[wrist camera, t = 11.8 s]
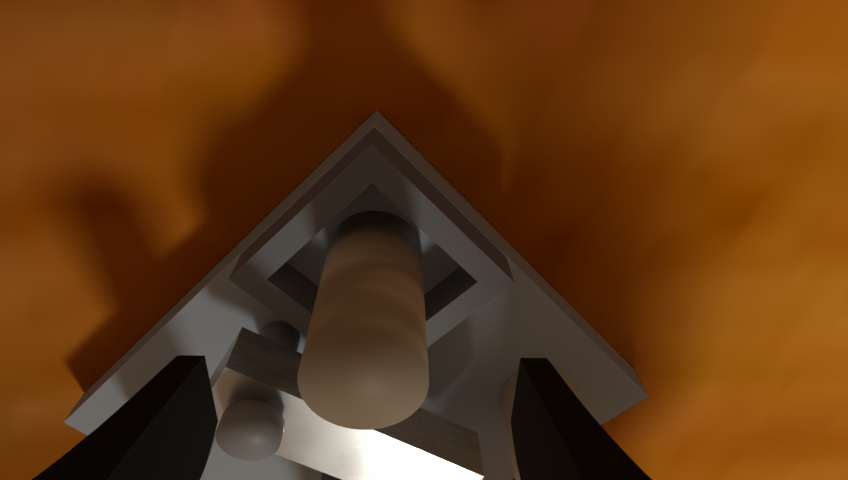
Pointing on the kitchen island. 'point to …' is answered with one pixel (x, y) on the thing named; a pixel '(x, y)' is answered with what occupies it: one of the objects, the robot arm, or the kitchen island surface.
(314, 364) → the leg peg
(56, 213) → the kitchen island surface
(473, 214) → the board
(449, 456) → the bar
